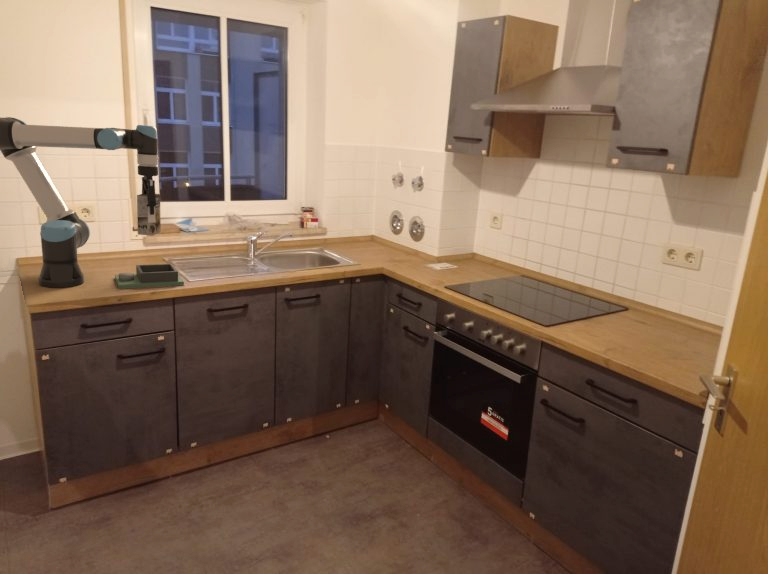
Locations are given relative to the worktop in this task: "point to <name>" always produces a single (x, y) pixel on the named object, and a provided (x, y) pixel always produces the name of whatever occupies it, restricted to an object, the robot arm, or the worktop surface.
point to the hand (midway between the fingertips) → (149, 220)
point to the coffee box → (142, 216)
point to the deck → (150, 277)
